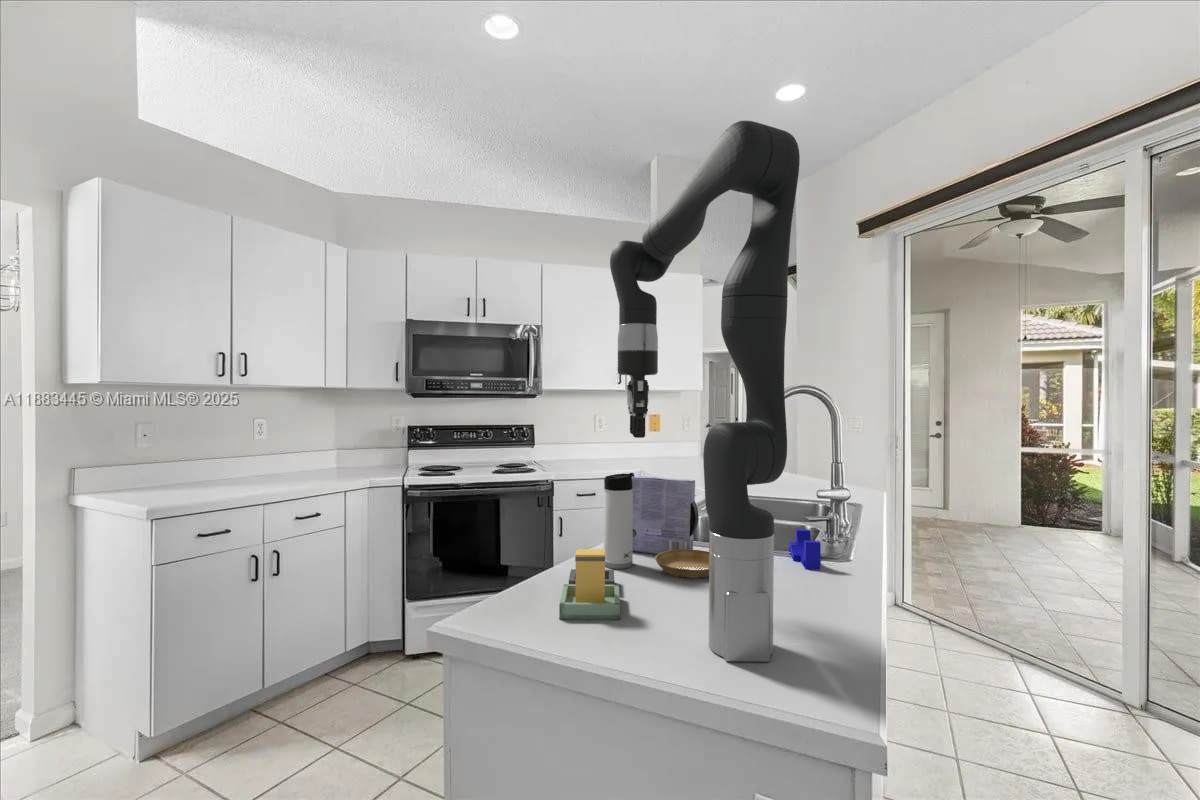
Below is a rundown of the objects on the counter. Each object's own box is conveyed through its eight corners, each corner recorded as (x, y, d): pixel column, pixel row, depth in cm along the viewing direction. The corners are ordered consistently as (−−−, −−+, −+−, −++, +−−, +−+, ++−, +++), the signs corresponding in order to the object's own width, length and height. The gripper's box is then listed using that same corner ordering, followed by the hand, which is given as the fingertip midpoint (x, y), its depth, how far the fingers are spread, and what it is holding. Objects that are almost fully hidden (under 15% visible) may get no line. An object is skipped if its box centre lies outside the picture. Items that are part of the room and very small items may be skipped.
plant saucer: (732, 582, 117) (732, 569, 117) (658, 582, 117) (658, 569, 117) (717, 560, 132) (717, 549, 132) (652, 560, 132) (652, 549, 132)
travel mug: (634, 569, 124) (635, 475, 124) (603, 569, 124) (603, 475, 124) (633, 561, 130) (633, 471, 130) (603, 560, 131) (604, 471, 130)
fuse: (605, 607, 100) (605, 555, 100) (575, 607, 100) (575, 555, 100) (604, 600, 104) (605, 549, 104) (576, 600, 104) (576, 549, 104)
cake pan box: (698, 552, 137) (699, 477, 137) (694, 558, 133) (695, 480, 132) (620, 545, 144) (620, 473, 144) (614, 550, 139) (614, 476, 139)
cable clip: (788, 554, 137) (789, 528, 137) (809, 555, 136) (809, 529, 136) (798, 569, 125) (798, 541, 125) (820, 571, 124) (820, 542, 124)
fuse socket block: (614, 594, 109) (614, 581, 109) (568, 594, 109) (568, 580, 109) (613, 582, 116) (613, 569, 116) (570, 581, 116) (570, 569, 116)
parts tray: (619, 619, 97) (619, 604, 97) (559, 619, 97) (559, 604, 97) (618, 598, 107) (618, 584, 107) (563, 597, 107) (563, 584, 107)
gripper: (662, 346, 103) (661, 439, 103) (653, 352, 117) (653, 433, 118) (619, 346, 103) (619, 439, 103) (616, 351, 117) (615, 433, 117)
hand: (637, 435), depth 110 cm, fingers open, 8 cm apart
